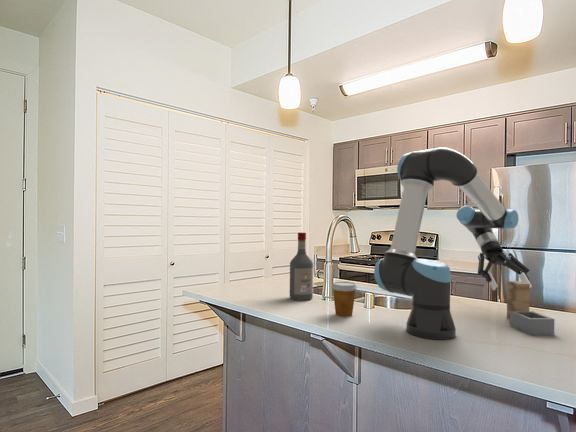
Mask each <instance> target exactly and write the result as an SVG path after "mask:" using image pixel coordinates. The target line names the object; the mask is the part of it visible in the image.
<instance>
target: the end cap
mask: <svg viewBox="0 0 576 432" xmlns="http://www.w3.org/2000/svg"><path fill="white" fill-rule="evenodd" d="M509 327H512V328H515V329H517V330H519V331H521V332H523V333H525V334H527V335H531V336H532V335H555V318H552V317H550V316H547V315H544V314H541V313H539V312H536V311H531V310H529V311H510V319H509Z"/></svg>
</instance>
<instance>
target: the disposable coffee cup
mask: <svg viewBox="0 0 576 432" xmlns="http://www.w3.org/2000/svg"><path fill="white" fill-rule="evenodd" d="M357 288H358V287H357V284H356V283H355V282H351V281H335V282H333V283H332V285H331V289H332V294H333V301H334V311H335V315H336V316H338V317H343V318H344V317H345V318H349V317H352V316H353V313H354V312H353V311H354V304H355V299H356V298H355V296H356V291H357Z"/></svg>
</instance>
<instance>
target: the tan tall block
mask: <svg viewBox="0 0 576 432" xmlns="http://www.w3.org/2000/svg"><path fill="white" fill-rule="evenodd" d="M506 283H507V284H506V285H507V286H506V318H507V319H508V320H510V311H530V293H531V291H530V289H531V288H530V284H531V283H530V284H528V283H524V282H522V281H521V280H520V281H519V280H507V282H506Z"/></svg>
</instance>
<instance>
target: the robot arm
mask: <svg viewBox="0 0 576 432" xmlns="http://www.w3.org/2000/svg"><path fill="white" fill-rule="evenodd" d="M396 172H397V177H398V179H399V180H400V184H401V186H402V187H403V189H402V195H401V199H400V204H399V209H398V212H397V218H396V222H395V226H394V230H393V235H392V236H393V237H392V240H391V244H390V248H389V249H388V250H387V251H385V252H384V255H383V256H384V257H382V258H380V259H379V260H378V261H376V263H375V266H374V271H373V272H374V273H373V274H374V280H375V282H376V285H377V286H378V287H379V288H380V289H381V290H383V291H387V292H388V293H393V294H398V295H404V296H407V297H408V296H409V297H412V299H411V300H412V302H411V305H412V306H411V310H410V313H409V315H408V318H407V321H406V323H405V324H406V329H405V330H406V331H407V332H408V333H409V334H411V335H413V336H415V337H418V338H419V337H420V338H423V339H430V340H449V339H454V338H455V337H456V335H457V331H456V330H457V328H456V325H455V322H454V318H453V315H452V313H451V282H452V276H451V268H450V266H449V265H447V264H446V263H444V262H442V261H438V260H435V259H428V258H418V257H417V256H416V250H417V246H418V245H417V244H418V239H419V235H420V231H421V230H420V229H421V224H422V221H423V215H424V211H425V206H426V201H427V195H428V192H430V191H431V190H433V187H434V184H435V181H436V182H437V181H446V182H449V183H451V184H452V185H453V186H455V187H458V188H459V189H460V190H461V191H462V192H463V194H465V195H466V197H467V198H468V199H469V200H470V201H471V203H472V204H473V205H474V206H475V207H476V208H477V209H475V208H473V207H472V206H470V205H464V206H461V207H460V208H459V209H458V210H457V211H456V215H455V216H456V218H457V220H458V221H459V223H460V224H461V225H462V226H464V227H465V228H466V229H467V230H468V231H469V232H470V233H471V234H472V235H473V237H474V238H475V241H476V243H477V244H478V247H479V248H480V251H481V252H480V253H479V254H478V255H477V258H478V267H477V275H481V276H482V278H484V279H485V280H486V282H487V283H488V284H489V285H490V287H491V290H492V291H496V289H497V288H498V286H499V285H498V284H497V282H496V279H495V278H494V276H493V274H492V272H491V271H490V269H491V267H492V266H493V265H494V266H497V265H498V266H504V267H507V268H508V269H510V270H512V272H514V273H516V274H518V275H519V276H518V277H519V279H520V281H521V282H524V283H528V284H530V289H531V288H533V285H532V284H531V282H530V278H529V277H528V273H529V272H530V269H529V268H528V267H526V265H525V264H523V263H522V262H521V261H520V260H518V259H517V257H515V256H514V255H513V253H511V252H509V253H508V254H506V253H504V252H503V251H504V250H503V247H502V246H501V244H500V242H499V240H498V238H497V237H496V234H494V232H493V230H492V229H503V230H507V229H511V230H512V229H515V228H517V226H518V223H519V214H518V212H517V210H515V209H511V208H509V209H506V208H505V207H504V206H503V204H502V202H501V201H500V200H499V199H498V198H497V196H496V195H495V193H493V191H492V190H491V189H490V188H489V186H488V185H487V184H486V183H485V182H484V180H483V179H482V178H481V176H480V175H479V174H478V168H477V167H476V165H475V164H474V163H473V161H471V160H470V159H469V158H468V157H467V156H466V155H464V154H462V153H461V152H458V151H457V150H455V149H452V148H449V147H443V146H442V147H436V148H430V149H423V150H414V151H411V152H408V153H405V154H403V155H402V156H401V158H400V159H399V161H398V163H397V168H396ZM485 260H487V261H488V262H487V265H486V266H485ZM484 267H485V268H484ZM489 271H490V272H489Z"/></svg>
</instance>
